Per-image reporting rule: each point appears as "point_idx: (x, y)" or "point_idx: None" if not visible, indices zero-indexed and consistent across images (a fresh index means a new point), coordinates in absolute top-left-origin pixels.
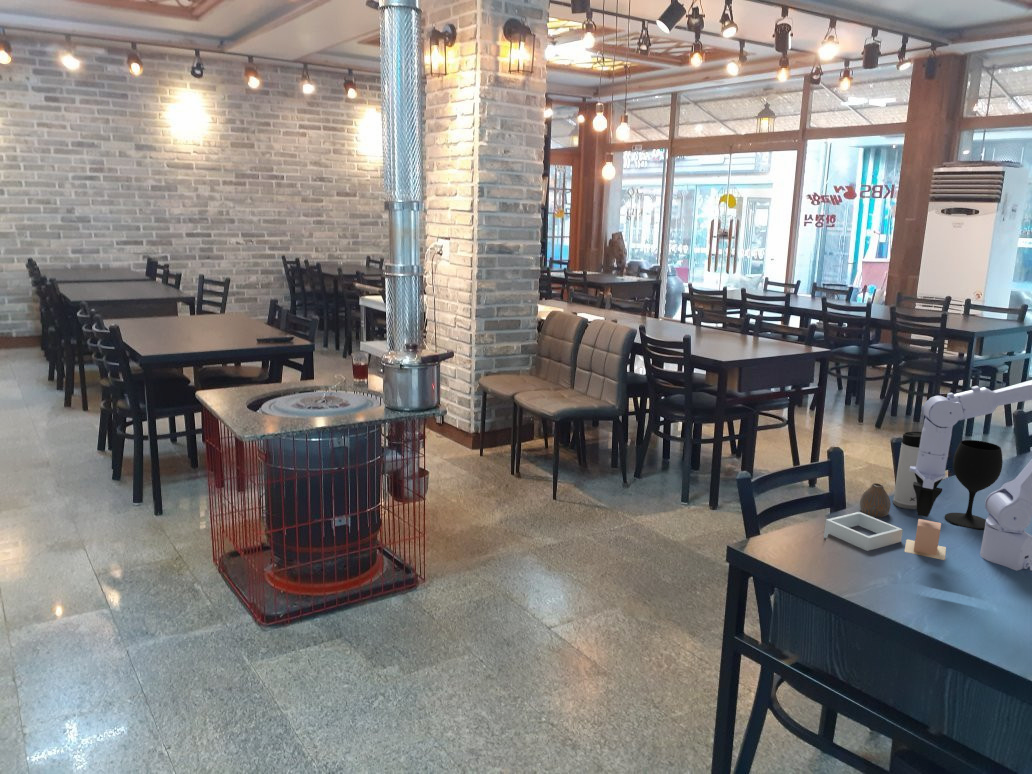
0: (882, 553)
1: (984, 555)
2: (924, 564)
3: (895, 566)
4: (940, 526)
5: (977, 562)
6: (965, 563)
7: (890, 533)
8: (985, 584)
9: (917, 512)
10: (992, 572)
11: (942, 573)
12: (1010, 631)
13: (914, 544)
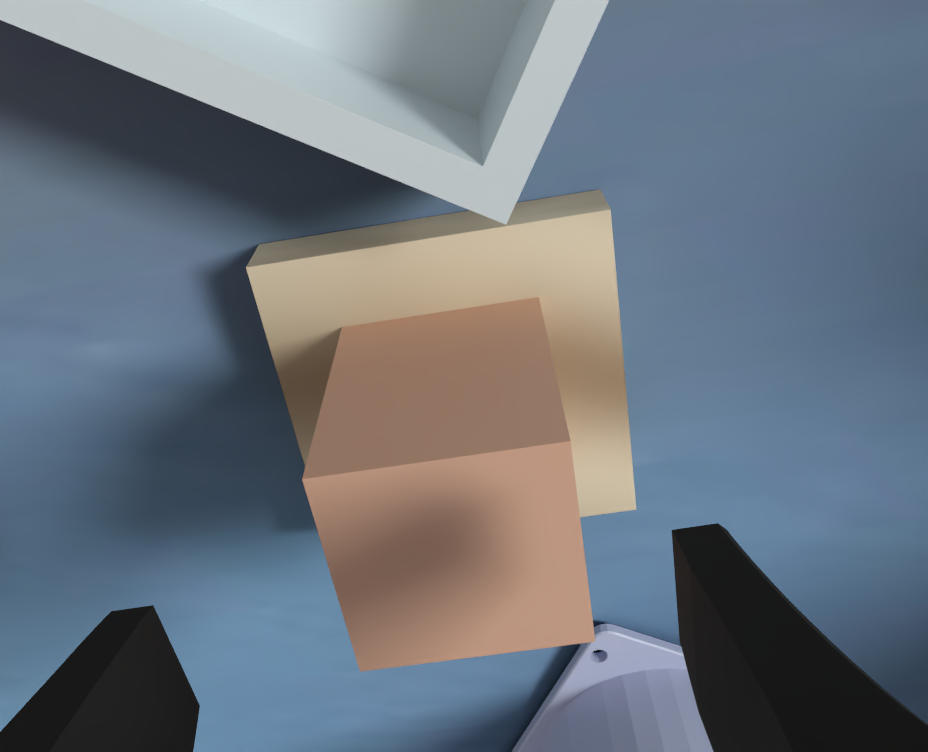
0: None
1: (583, 738)
2: (263, 404)
3: (5, 232)
4: (470, 656)
5: (596, 652)
6: None
7: (277, 128)
8: (244, 726)
9: (85, 641)
10: (480, 729)
11: (196, 527)
12: None
13: (510, 300)
